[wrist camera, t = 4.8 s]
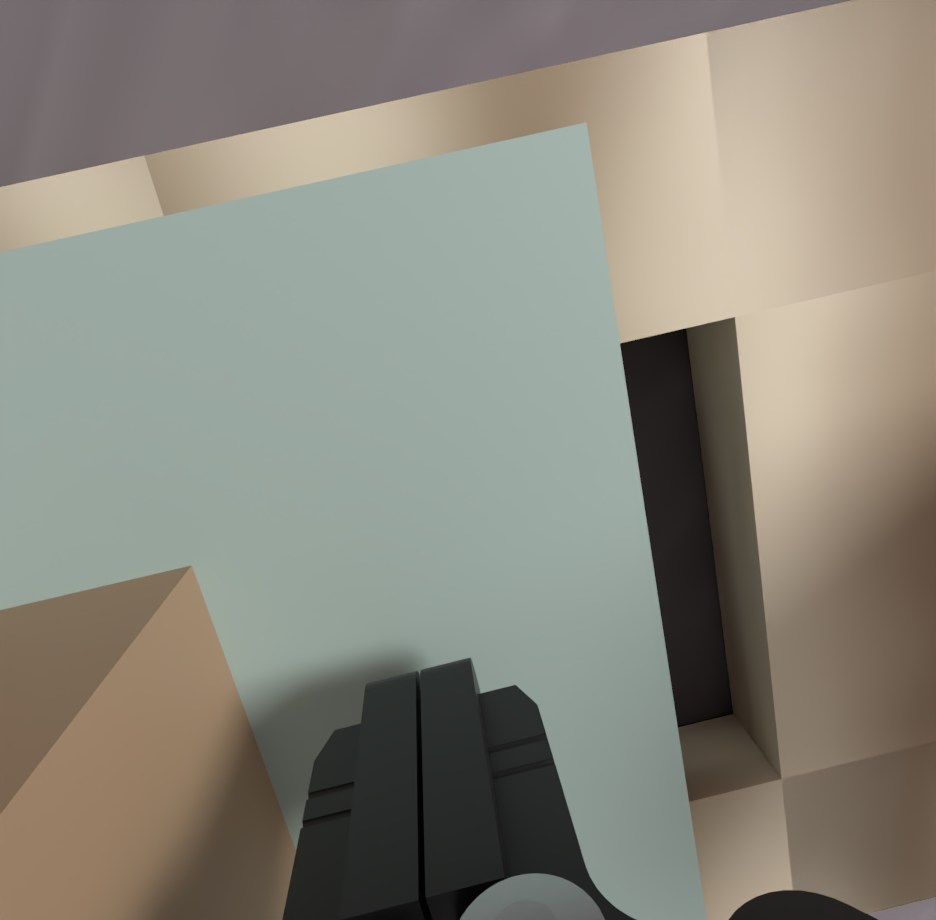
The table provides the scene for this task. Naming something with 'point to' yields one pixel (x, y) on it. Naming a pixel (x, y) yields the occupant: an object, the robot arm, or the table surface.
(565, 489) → the cover
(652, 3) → the table surface
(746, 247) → the puzzle board
